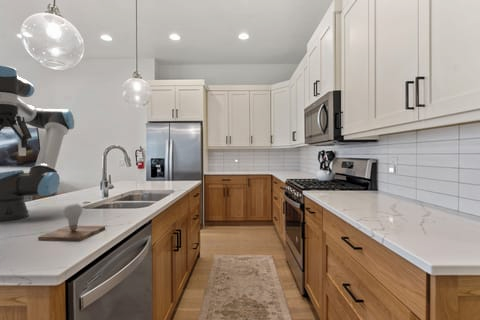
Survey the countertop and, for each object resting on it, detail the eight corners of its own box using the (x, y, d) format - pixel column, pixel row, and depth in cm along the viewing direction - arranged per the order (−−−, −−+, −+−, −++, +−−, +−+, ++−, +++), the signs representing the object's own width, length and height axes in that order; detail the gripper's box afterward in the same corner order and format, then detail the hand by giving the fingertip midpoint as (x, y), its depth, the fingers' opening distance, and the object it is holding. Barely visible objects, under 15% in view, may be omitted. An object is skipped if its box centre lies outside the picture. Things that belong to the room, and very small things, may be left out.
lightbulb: (86, 229, 109) (85, 202, 109) (72, 233, 104) (71, 204, 103) (74, 228, 111) (74, 201, 111) (60, 232, 106) (60, 204, 105)
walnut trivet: (69, 228, 116) (69, 225, 116) (105, 229, 115) (105, 226, 115) (38, 239, 100) (38, 236, 100) (79, 241, 99) (79, 237, 99)
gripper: (-31, 103, 111) (-30, 156, 111) (26, 102, 109) (27, 155, 109) (-12, 106, 118) (-11, 155, 119) (41, 105, 116) (42, 155, 116)
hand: (7, 156), depth 114 cm, fingers open, 13 cm apart
